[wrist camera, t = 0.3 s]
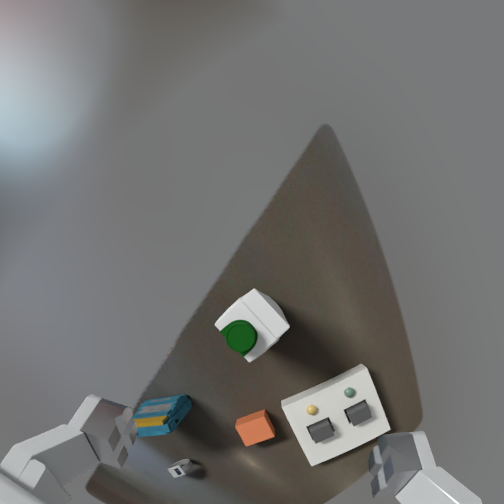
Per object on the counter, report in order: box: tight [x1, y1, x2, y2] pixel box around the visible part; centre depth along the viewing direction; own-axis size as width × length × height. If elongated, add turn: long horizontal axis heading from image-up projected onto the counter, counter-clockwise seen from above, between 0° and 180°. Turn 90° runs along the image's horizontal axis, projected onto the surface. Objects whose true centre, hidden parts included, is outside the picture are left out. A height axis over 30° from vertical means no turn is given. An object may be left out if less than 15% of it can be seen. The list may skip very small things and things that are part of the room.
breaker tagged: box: [308, 418, 335, 444], centre depth 53 cm, size 3×4×4 cm
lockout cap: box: [235, 409, 275, 446], centre depth 56 cm, size 5×6×4 cm
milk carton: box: [215, 288, 290, 362], centre depth 51 cm, size 9×9×20 cm
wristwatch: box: [168, 459, 193, 478], centre depth 55 cm, size 6×3×5 cm, turn 120°
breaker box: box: [281, 364, 390, 466], centre depth 55 cm, size 16×18×5 cm
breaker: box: [345, 401, 372, 426], centre depth 53 cm, size 3×4×4 cm
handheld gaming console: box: [132, 394, 192, 437], centre depth 52 cm, size 10×4×15 cm, turn 106°
